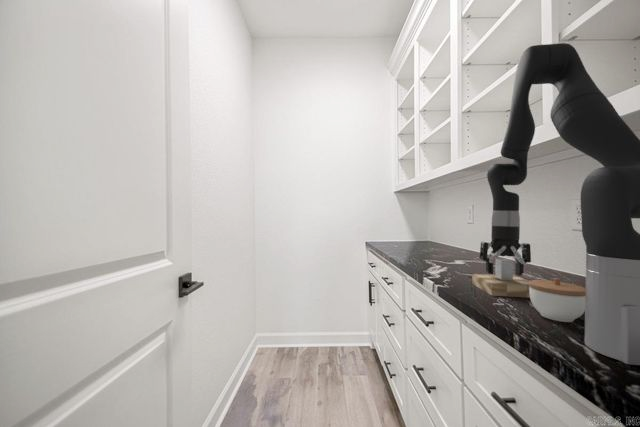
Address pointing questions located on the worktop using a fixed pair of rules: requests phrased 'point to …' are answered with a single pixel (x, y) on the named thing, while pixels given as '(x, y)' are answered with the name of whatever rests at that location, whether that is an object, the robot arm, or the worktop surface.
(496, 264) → the grey rectangular block
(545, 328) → the worktop surface
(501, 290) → the well block
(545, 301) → the lidded jar
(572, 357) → the worktop surface
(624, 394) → the worktop surface
